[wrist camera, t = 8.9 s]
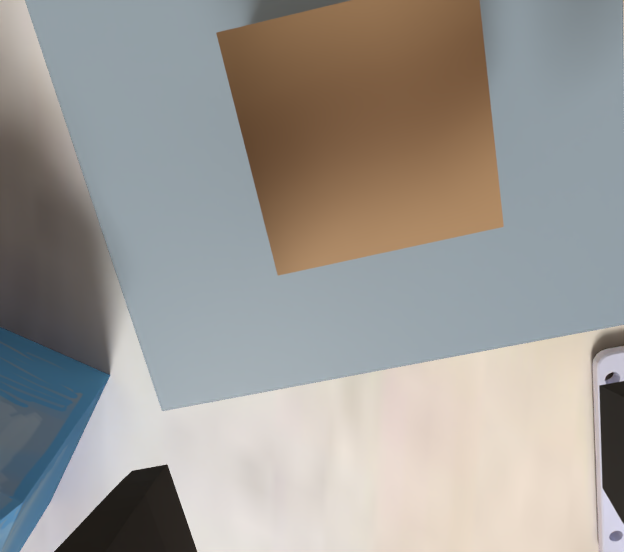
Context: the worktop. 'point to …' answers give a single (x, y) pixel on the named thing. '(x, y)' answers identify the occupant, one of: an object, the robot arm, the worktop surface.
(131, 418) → the worktop surface
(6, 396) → the perfume bottle
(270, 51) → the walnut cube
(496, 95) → the slate board
